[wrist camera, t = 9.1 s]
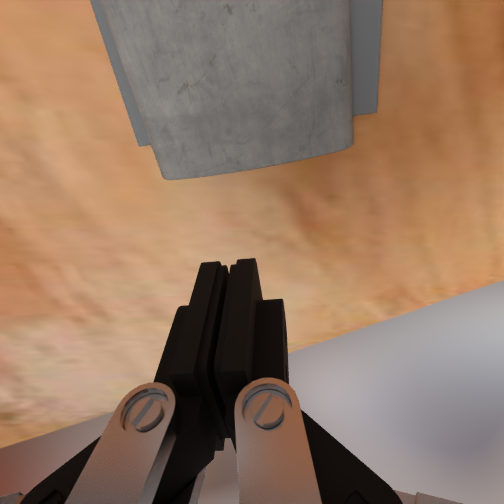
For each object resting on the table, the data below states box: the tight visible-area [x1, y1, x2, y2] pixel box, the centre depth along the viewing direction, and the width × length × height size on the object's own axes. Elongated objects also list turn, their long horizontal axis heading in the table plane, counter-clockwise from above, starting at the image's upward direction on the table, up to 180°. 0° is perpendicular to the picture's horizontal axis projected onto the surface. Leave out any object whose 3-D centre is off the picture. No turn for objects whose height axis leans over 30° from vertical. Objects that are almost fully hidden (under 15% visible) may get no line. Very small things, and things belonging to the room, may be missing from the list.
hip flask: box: [100, 0, 353, 180], centre depth 22 cm, size 16×4×20 cm
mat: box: [90, 0, 383, 147], centre depth 24 cm, size 20×17×1 cm
